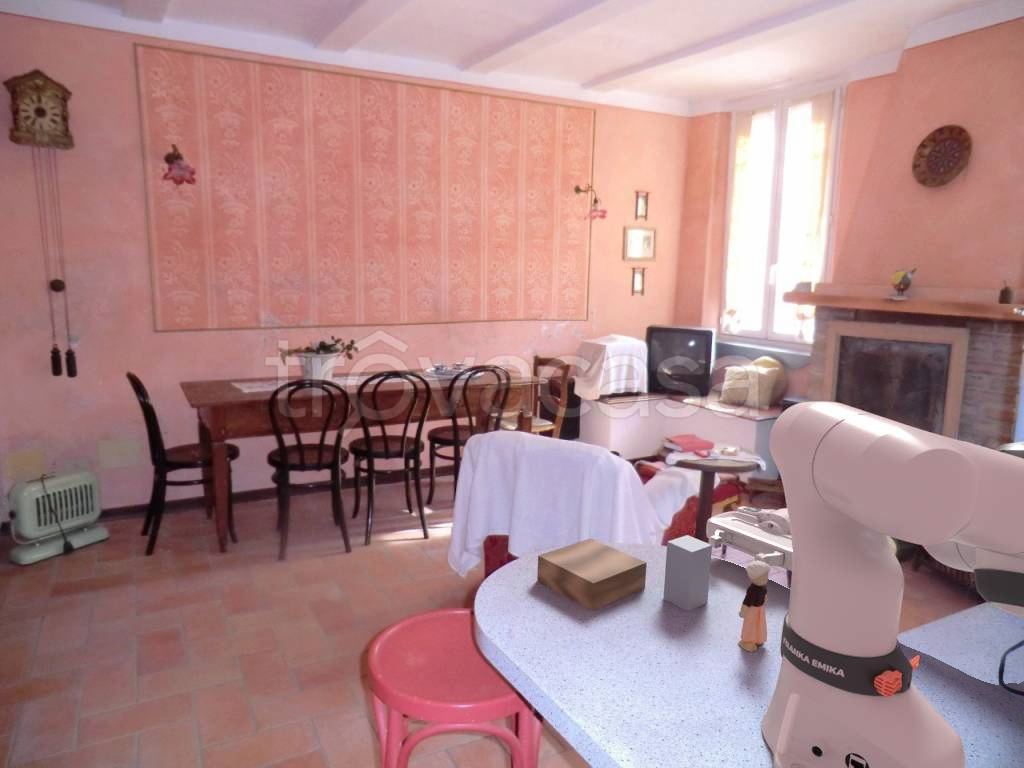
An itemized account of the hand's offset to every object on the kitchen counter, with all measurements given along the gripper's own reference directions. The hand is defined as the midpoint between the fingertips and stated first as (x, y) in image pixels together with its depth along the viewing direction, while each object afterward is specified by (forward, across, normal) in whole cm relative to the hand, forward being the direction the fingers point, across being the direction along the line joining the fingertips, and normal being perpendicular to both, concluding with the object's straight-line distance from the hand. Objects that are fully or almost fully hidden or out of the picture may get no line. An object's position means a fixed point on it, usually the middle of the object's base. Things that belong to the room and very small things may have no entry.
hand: (734, 551), depth 119 cm
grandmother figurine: (+15, -14, -6) cm, 21 cm away
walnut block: (+22, +13, -6) cm, 26 cm away
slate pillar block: (+13, 0, -6) cm, 14 cm away
